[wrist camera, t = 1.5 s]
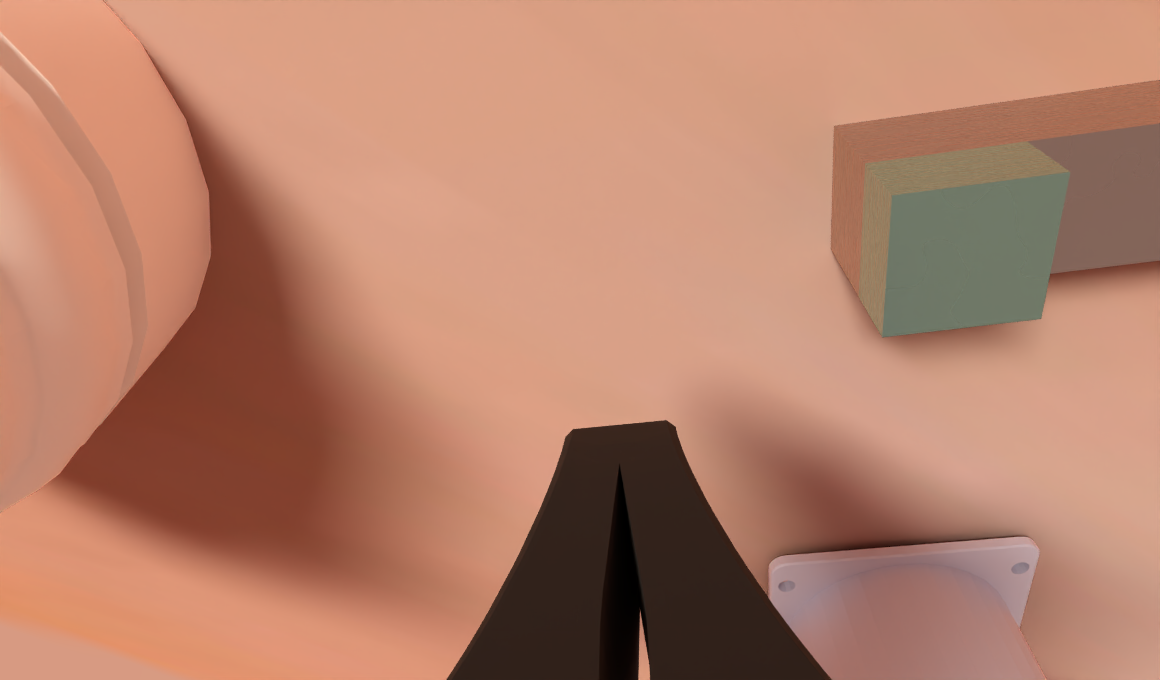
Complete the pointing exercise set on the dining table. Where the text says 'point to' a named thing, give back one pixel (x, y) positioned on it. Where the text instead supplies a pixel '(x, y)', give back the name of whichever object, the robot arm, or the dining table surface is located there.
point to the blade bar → (994, 204)
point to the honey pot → (86, 228)
